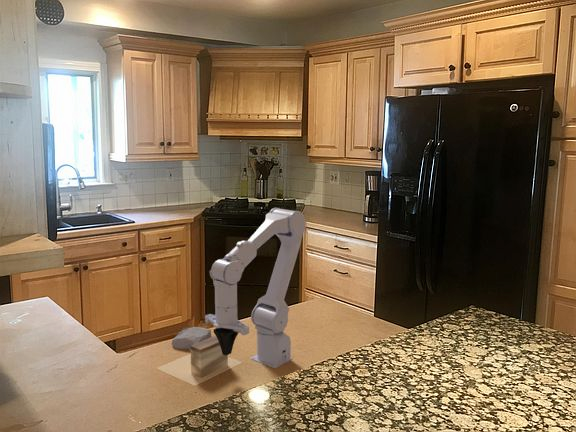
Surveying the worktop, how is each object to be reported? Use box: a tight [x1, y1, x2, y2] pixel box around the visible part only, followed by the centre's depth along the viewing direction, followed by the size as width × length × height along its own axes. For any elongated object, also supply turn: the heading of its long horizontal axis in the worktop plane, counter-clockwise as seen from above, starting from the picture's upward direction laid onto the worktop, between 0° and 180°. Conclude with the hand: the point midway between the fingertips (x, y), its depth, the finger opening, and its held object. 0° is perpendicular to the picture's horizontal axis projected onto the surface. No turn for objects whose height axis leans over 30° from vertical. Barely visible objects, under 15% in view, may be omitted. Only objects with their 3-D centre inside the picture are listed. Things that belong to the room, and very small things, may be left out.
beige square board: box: [155, 353, 243, 387], centre depth 150 cm, size 16×18×1 cm
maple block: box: [189, 335, 229, 378], centre depth 147 cm, size 4×10×8 cm, turn 141°
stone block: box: [171, 326, 212, 350], centre depth 167 cm, size 12×5×10 cm
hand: (227, 353), depth 142 cm, fingers closed
